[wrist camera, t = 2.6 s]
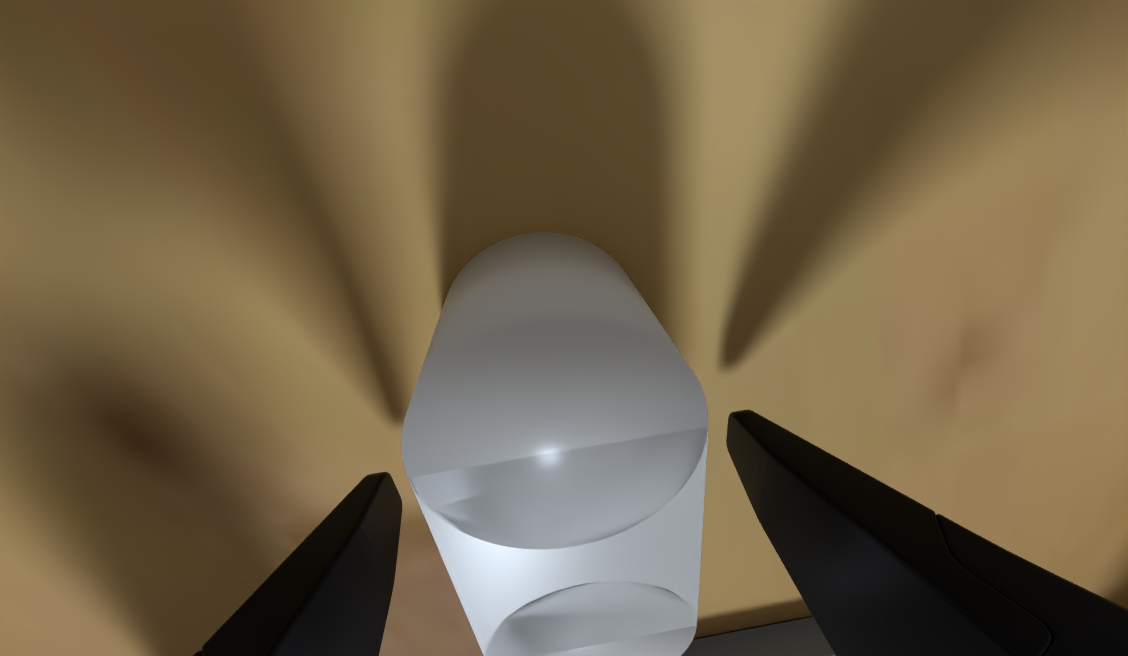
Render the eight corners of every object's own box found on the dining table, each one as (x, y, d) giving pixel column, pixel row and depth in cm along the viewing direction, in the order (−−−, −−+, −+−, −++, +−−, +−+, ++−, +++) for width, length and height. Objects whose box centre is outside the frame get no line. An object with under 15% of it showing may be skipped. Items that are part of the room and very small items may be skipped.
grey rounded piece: (634, 216, 8) (716, 289, 5) (649, 578, 13) (691, 722, 10) (417, 249, 8) (352, 346, 4) (523, 601, 13) (526, 755, 10)
